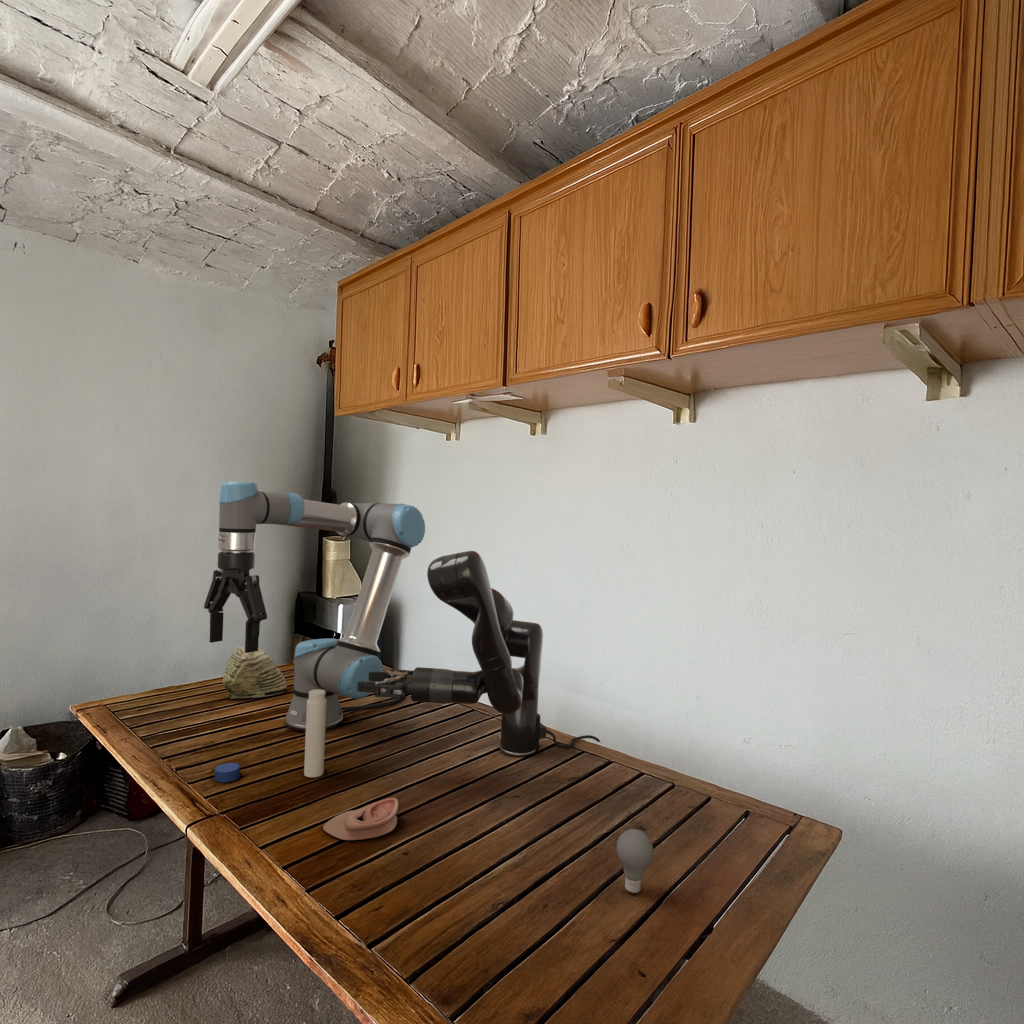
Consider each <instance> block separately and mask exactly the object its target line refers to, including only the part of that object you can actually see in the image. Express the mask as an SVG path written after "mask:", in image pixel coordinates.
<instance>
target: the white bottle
mask: <svg viewBox="0 0 1024 1024" xmlns="http://www.w3.org/2000/svg"><path fill="white" fill-rule="evenodd" d="M325 695H326V694H325V691H324V690H320V689H316V690H311V691H309V699H308V700H307V709H306V732H305V739H304V761H303V762H304V763H303V765H304V766H303V775H304V776H305V777H307V778H318V777H321V776H323V774H324V772H325V751H326V750H325V748H326V747H325V746H326V730H325V724H326V699H325Z"/></svg>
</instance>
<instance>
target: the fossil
mask: <svg viewBox="0 0 1024 1024" xmlns="http://www.w3.org/2000/svg"><path fill="white" fill-rule="evenodd" d="M222 676H223V677H222V685H223V687H224V688H225V690H226V691H228V693H229V698H230V699H250V698H264V697H271V696H275V695H281V694H284V693H285V691H286V689H287V687H288V686H287V680H286V678H285V676H284V674H283V673H282V672H281V669H279V668H278V667H277V665H276V663H275V662H274V660H273V659H272V658H271V657H270V656H269V655H268V654H267V653H266V652H265V650H264V649H263V648H260V647H258V651H255V652H250V653H245V646H238V647H237V648H236V649H235V650H233V651H232V653H231V656H230V657H229V659H228V660H227V663H226V666H225V668H224V671H223V675H222Z"/></svg>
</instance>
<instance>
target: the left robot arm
mask: <svg viewBox="0 0 1024 1024" xmlns="http://www.w3.org/2000/svg"><path fill="white" fill-rule="evenodd" d="M219 491H220V492H219V500H218V503H219V512H218V514H219V515H218V537H217V541H218V545H217V546H218V547H217V548H218V549H219V550H220V551H219V552H218V553H217V568H218V569H216V570H215V569H214V570H213V573H212V580H211V583H210V586H209V589H208V592H207V595H206V598H205V601H204V605H203V608H204V609H205V610H208V611H207V612H208V613H209V643H210V644H212V643H217V642H223V639H224V636H223V635H224V611H225V610H224V607H225V605H226V603H227V601H228V600H229V598H230V596H231V594H233V595H235V596H236V598H238V599H239V600H240V604H241V606H242V609H243V611H244V613H245V615H246V618H247V620H246V621H245V635H244V636H245V637H244V638H245V639H244V647H245V653H250V652H255V651H258V648H259V638H260V628H261V627H260V626H261V622H262V621H265V620H267V619H268V614H267V610H266V605H265V602H264V597H263V593H262V590H261V586H260V576H259V575H258V574H256V575H250V571H251V570H253V569H254V568H255V563H256V562H255V561H256V560H255V559H256V554H255V552H254V550H255V549H256V536H257V535H256V534H257V532H256V529H257V525H276V526H277V525H278V526H285V527H294V528H304V529H311V530H313V529H314V530H321V531H328V532H329V531H331V532H336V533H337V535H339V536H343V537H344V536H345V537H349V538H354V539H359V540H362V541H366V542H369V543H368V545H369V547H370V549H371V554H370V557H369V561H368V564H367V567H366V570H365V573H364V576H363V580H362V582H361V586H360V589H359V591H358V596H357V599H356V601H355V603H354V608H353V611H352V614H351V617H350V620H349V624H348V626H347V629H346V632H345V635H344V636H341V637H340V638H338V639H337V638H331V637H329V638H317V639H316V638H315V639H308V640H304V641H300V642H299V643H298V644H297V645H296V646H295V650H294V651H295V652H294V655H293V658H294V670H293V671H294V672H293V695H292V696H293V697H292V699H291V702H290V704H289V708H288V711H287V713H286V715H285V726H286V728H287V729H289V730H291V731H294V732H295V731H296V732H301V733H306V709H307V700H308V699H309V691H311V690H316V689H320V690H324V691H325V694H326V695H325V699H326V724H325V731H329V730H332V729H335V728H337V727H339V726H340V725H342V723H343V722H344V714H343V711H353V710H364V709H373V708H374V709H375V708H380V707H385V706H389V705H392V704H396V703H398V702H400V701H401V700H403V699H404V698H405V696H406V695H407V693H404V694H402V698H393V699H392V700H388V701H384V702H380V703H379V702H378V703H374V704H372V703H371V704H363V705H352V706H341V702H340V699H339V695H340V696H341V697H343V698H348V699H354V700H360V699H365V698H367V697H368V696H369V695H370V694H372V693H371V692H359V691H358V690H357V686H358V682H359V681H369V672H370V671H379V672H384V667H383V663H382V661H381V659H379V656H380V652H381V650H380V648H379V646H378V640H379V637H380V633H381V630H382V627H383V624H384V621H385V617H386V614H387V611H388V607H389V604H390V601H391V598H392V594H393V591H394V588H395V585H396V581H397V578H398V575H399V572H400V568H401V565H402V563H403V560H404V559H406V558H408V557H409V556H410V554H411V551H412V549H413V548H415V547H417V546H419V544H421V543H422V541H423V540H424V538H425V534H426V522H425V519H424V517H423V514H422V512H421V511H420V510H419V509H418V508H417V507H416V506H414V505H411V504H405V503H388V502H387V503H385V502H363V503H358V502H357V503H355V502H354V503H353V502H347V501H346V502H345V501H344V502H342V503H340V504H336V503H330V502H324V501H317V500H311V499H304V498H303V497H302V496H301V495H300V494H299V493H296V492H289V491H261V490H259V488H258V484H257V483H256V482H251V481H232V480H230V481H229V480H227V481H224V482H222V484H221V485H220V490H219ZM370 682H375V681H370Z"/></svg>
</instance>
